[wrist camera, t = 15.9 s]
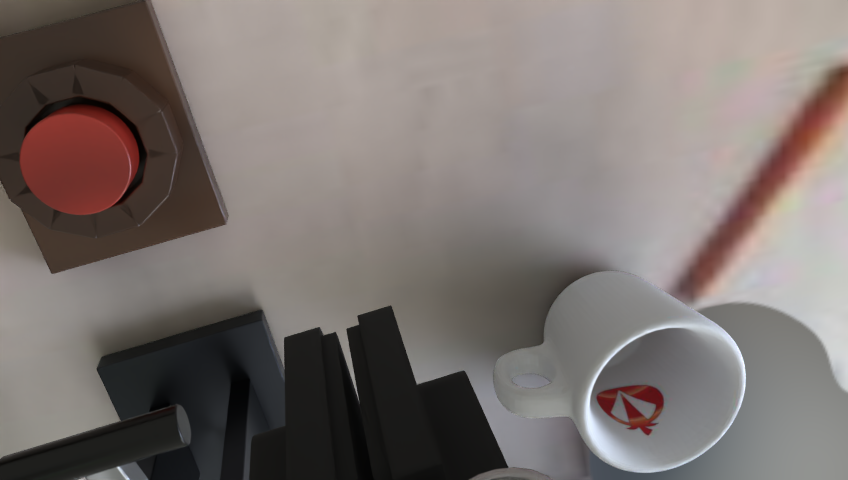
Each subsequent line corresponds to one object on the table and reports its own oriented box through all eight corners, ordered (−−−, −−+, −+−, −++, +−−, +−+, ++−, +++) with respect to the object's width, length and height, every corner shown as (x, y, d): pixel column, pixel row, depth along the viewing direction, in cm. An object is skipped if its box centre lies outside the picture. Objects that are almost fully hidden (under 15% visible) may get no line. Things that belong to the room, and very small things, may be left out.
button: (16, 119, 30) (0, 129, 29) (117, 92, 31) (107, 100, 29) (58, 212, 32) (45, 227, 30) (154, 185, 32) (146, 199, 30)
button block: (-43, 48, 32) (-75, 58, 29) (150, -2, 32) (137, 2, 29) (58, 264, 35) (38, 293, 32) (228, 216, 36) (224, 239, 33)
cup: (479, 407, 42) (522, 504, 35) (465, 274, 39) (509, 349, 32) (666, 370, 43) (745, 456, 36) (666, 239, 41) (752, 303, 33)
